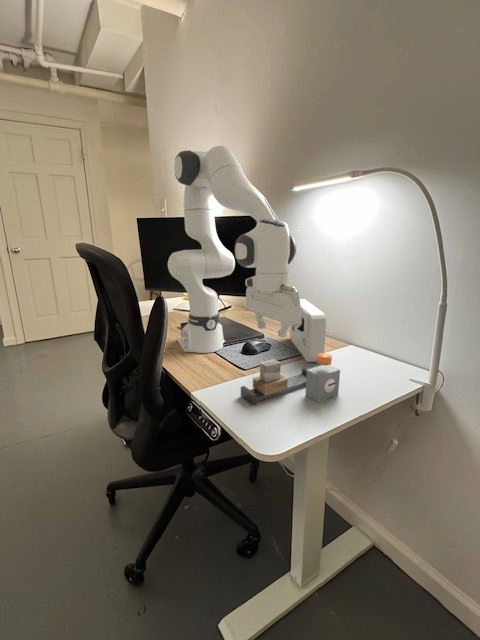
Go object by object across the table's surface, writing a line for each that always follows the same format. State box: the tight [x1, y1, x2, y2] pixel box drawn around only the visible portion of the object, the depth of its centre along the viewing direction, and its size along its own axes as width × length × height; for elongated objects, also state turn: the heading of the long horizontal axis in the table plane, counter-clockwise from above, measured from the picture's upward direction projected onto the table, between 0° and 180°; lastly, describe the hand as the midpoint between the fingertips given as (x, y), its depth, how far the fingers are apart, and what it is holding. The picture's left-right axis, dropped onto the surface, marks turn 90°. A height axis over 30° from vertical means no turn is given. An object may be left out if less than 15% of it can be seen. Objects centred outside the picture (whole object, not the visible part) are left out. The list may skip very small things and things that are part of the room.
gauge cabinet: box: [305, 364, 341, 403], centre depth 94 cm, size 6×8×8 cm
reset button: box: [316, 352, 333, 366], centre depth 92 cm, size 4×4×2 cm
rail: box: [240, 367, 309, 406], centre depth 98 cm, size 6×24×3 cm, turn 122°
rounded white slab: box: [289, 298, 327, 363], centre depth 128 cm, size 29×8×18 cm, turn 6°
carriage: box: [252, 358, 288, 396], centre depth 95 cm, size 6×8×8 cm
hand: (271, 332), depth 91 cm, fingers open, 8 cm apart
